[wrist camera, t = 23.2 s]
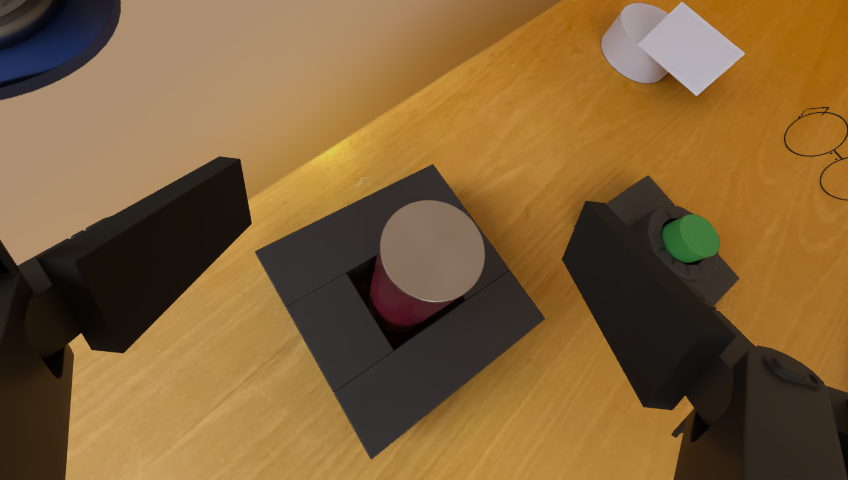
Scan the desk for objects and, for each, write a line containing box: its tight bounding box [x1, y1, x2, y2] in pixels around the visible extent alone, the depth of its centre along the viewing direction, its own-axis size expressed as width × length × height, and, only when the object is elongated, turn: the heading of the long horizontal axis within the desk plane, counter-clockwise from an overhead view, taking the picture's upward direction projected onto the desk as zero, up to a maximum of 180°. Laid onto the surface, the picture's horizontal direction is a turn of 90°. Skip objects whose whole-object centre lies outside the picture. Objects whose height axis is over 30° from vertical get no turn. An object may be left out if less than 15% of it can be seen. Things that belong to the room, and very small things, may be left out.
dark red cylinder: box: [369, 200, 485, 331], centre depth 20 cm, size 5×5×12 cm
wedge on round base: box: [601, 2, 745, 96], centre depth 39 cm, size 9×7×13 cm
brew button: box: [662, 214, 720, 263], centre depth 27 cm, size 4×4×2 cm
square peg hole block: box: [255, 164, 545, 459], centre depth 23 cm, size 14×14×4 cm
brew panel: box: [574, 176, 739, 306], centre depth 30 cm, size 12×9×4 cm
